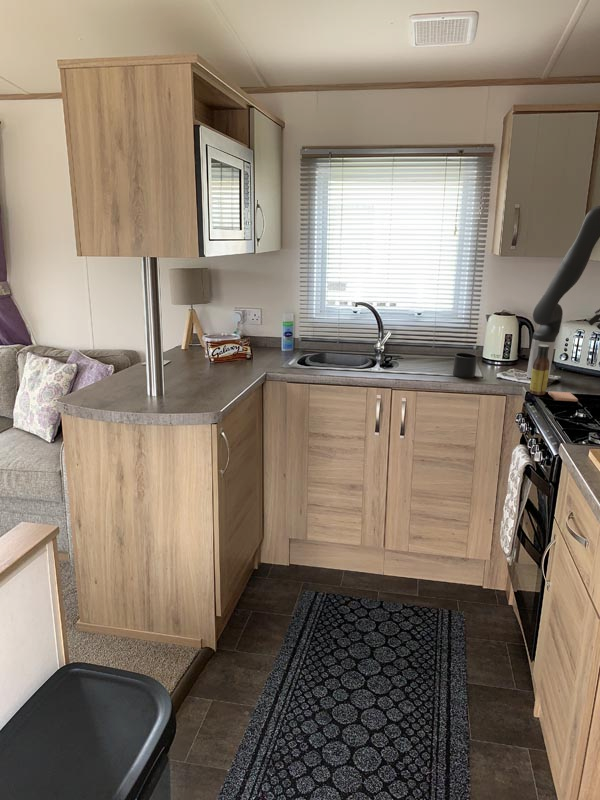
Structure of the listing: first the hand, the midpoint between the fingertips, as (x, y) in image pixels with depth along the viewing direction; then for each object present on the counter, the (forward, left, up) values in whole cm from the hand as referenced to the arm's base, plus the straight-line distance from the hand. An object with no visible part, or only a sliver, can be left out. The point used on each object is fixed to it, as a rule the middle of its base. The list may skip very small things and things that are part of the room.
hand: (593, 325), depth 238 cm
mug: (-21, -43, -29) cm, 56 cm away
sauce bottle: (+2, -18, -29) cm, 34 cm away
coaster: (+5, -9, -28) cm, 30 cm away
